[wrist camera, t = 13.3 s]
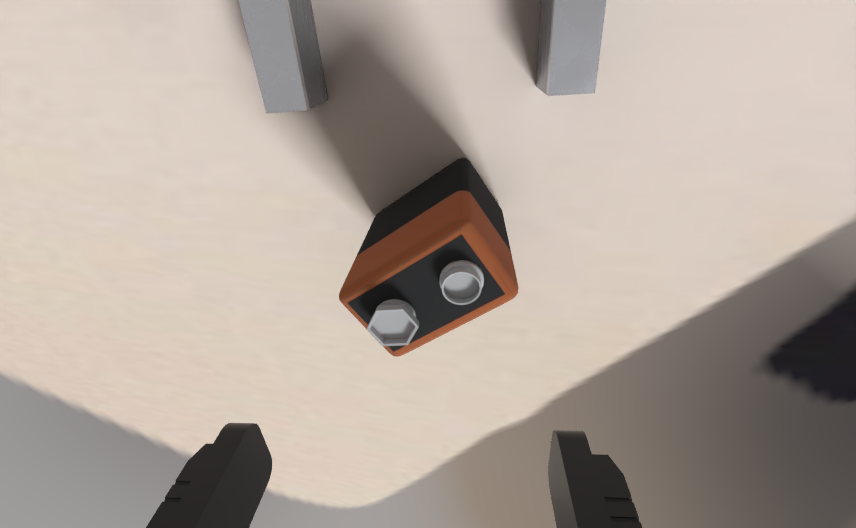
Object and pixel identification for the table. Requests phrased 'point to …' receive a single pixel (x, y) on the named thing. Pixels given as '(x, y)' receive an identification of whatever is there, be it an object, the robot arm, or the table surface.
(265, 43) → the housing
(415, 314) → the battery
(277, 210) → the table surface
